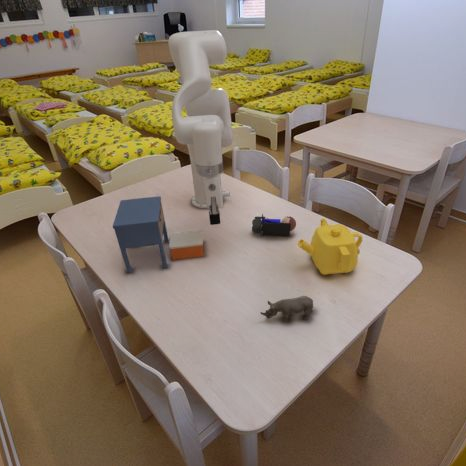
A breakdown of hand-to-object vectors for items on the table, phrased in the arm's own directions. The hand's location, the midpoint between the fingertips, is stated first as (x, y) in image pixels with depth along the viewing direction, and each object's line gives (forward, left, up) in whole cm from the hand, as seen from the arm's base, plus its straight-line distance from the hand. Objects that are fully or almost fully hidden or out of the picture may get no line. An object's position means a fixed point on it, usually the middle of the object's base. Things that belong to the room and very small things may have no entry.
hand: (215, 223), depth 105 cm
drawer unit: (+22, 0, -10) cm, 24 cm away
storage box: (+10, 0, -10) cm, 14 cm away
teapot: (-32, +15, -10) cm, 36 cm away
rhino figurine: (-15, +33, -10) cm, 37 cm away
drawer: (+21, 0, 0) cm, 21 cm away
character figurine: (-20, -4, -10) cm, 23 cm away
